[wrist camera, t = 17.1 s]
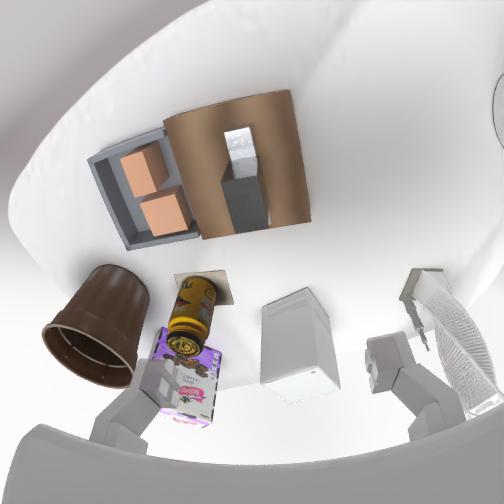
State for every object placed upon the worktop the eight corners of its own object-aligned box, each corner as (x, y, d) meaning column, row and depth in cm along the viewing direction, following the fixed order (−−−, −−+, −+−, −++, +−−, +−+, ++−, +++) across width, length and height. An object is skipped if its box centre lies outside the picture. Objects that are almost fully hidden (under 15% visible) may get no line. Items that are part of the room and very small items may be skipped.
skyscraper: (415, 261, 41) (486, 414, 18) (449, 262, 40) (522, 397, 18) (398, 298, 45) (447, 442, 23) (432, 298, 45) (485, 426, 22)
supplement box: (260, 306, 47) (257, 384, 35) (307, 285, 44) (319, 365, 32) (285, 334, 52) (288, 405, 39) (329, 317, 48) (342, 390, 36)
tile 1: (181, 184, 35) (174, 194, 32) (193, 218, 37) (187, 229, 35) (147, 193, 35) (139, 203, 33) (160, 225, 38) (153, 236, 36)
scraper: (253, 122, 28) (248, 139, 20) (272, 211, 34) (274, 255, 26) (225, 128, 28) (210, 148, 21) (248, 215, 34) (243, 260, 27)
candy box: (223, 352, 56) (214, 424, 42) (210, 363, 59) (200, 430, 45) (162, 325, 52) (139, 398, 38) (153, 338, 55) (132, 406, 41)
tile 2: (142, 151, 27) (119, 158, 28) (156, 191, 30) (134, 197, 30) (157, 140, 31) (137, 147, 32) (169, 176, 34) (149, 181, 34)
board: (287, 89, 28) (289, 90, 25) (308, 210, 37) (311, 221, 34) (171, 116, 30) (162, 120, 28) (206, 228, 39) (202, 239, 36)
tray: (173, 124, 31) (162, 130, 27) (204, 221, 38) (198, 237, 35) (102, 150, 32) (87, 159, 29) (137, 235, 40) (127, 250, 37)
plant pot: (160, 264, 43) (125, 345, 30) (163, 327, 52) (142, 398, 39) (76, 246, 42) (27, 312, 29) (92, 309, 51) (61, 371, 38)
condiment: (173, 274, 44) (152, 332, 34) (224, 269, 43) (213, 331, 33) (187, 306, 48) (171, 362, 38) (234, 303, 47) (226, 362, 37)
